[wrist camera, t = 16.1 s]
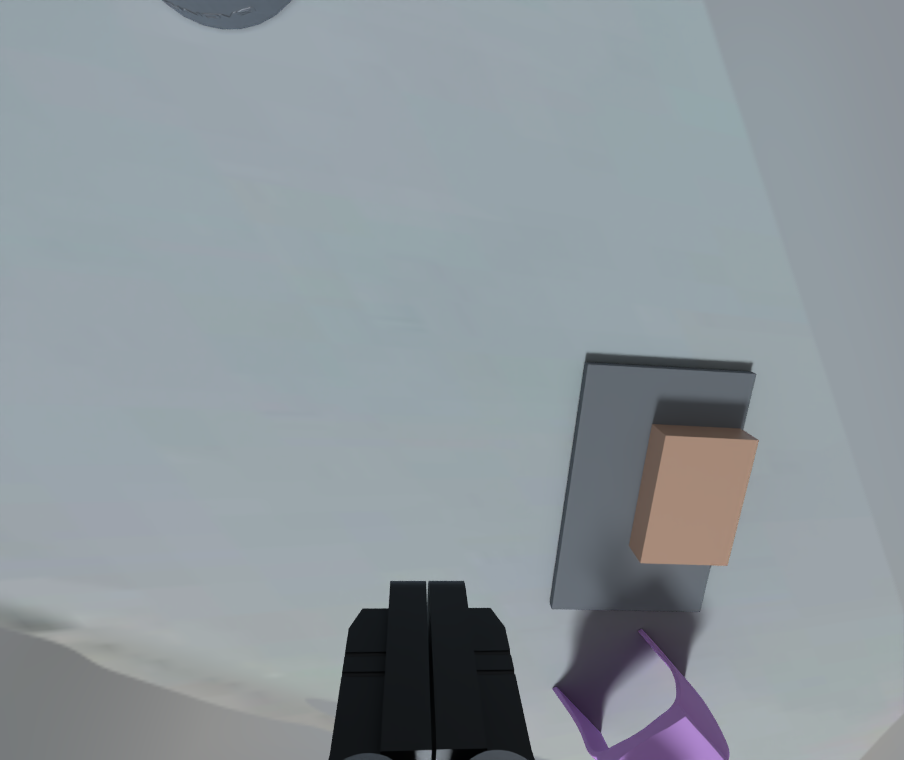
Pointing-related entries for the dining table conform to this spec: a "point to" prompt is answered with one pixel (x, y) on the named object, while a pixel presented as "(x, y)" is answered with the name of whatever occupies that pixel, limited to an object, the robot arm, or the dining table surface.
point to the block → (691, 494)
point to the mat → (632, 482)
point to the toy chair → (661, 728)
